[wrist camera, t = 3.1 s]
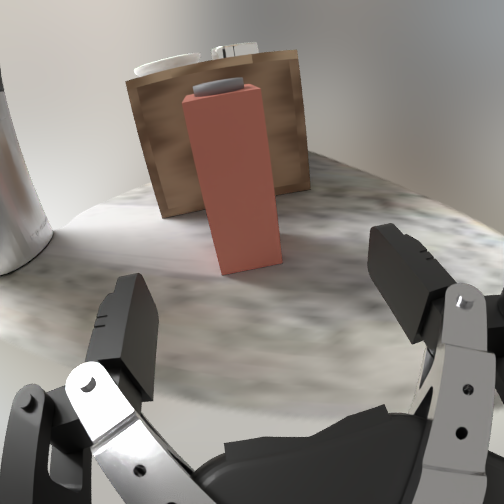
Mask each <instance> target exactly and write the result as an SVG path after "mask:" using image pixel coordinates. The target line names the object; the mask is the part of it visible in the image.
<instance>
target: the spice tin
mask: <svg viewBox="0 0 504 504" xmlns="http://www.w3.org/2000/svg"><path fill="white" fill-rule="evenodd" d="M193 91H194V94H191V95H187V96H186V97H185V98H184V100H183V102H182V107H183V112H184V116H185V121H186V126H187V130H188V135H189V140H190V144H191V149H192V153H193V158H194V162H195V166H196V171H197V175H198V179H199V184H200V188H201V192H202V197H203V201H204V205H205V209H206V213H207V217H208V222H209V226H210V230H211V234H212V238H213V242H214V246H215V250H216V254H217V258H218V262H219V266H220V270H221V273H222V275H226V274H231V273H236V272H241V271H246V270H251V269H256V268H261V267H266V266H271V265H276V264H281V263H283V262H282V253H281V244H280V235H279V226H278V217H277V209H276V200H275V192H274V184H273V176H272V168H271V160H270V152H269V145H268V137H267V130H266V122H265V115H264V108H263V101H262V94H261V88H258V87H256V86H254V85H251V84H245V85H244V82H243V78H242V77H240V78H230V79H223V80H217V81H212V82H207V83H203V84H199V85H196V86H193Z"/></svg>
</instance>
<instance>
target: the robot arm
mask: <svg viewBox="0 0 504 504" xmlns="http://www.w3.org/2000/svg"><path fill="white" fill-rule="evenodd" d="M52 235H53V230H52V228H51V226H50V224H49V221H48V219H47V217H46V215H45V212H44V210H43V208H42V205H41V203H40V200H39V198H38V195H37V193H36V190H35V188H34V185H33V183H32V180H31V177H30V175H29V172H28V169H27V166H26V164H25V161H24V158H23V155H22V152H21V149H20V146H19V143H18V140H17V137H16V133H15V130H14V126H13V123H12V119H11V117H10V112H9V108H8V105H7V101H6V96H5V92H4V88H3V84H2V78H1V69H0V275H3V274H7V273H9V272H11V271H14V270H16V269H17V268H19V267H21V266H22V265H24V264H26V263H27V262H28V261H30V260H31V259H32V258H34V257H35V256H36V255H37V254H38V253H39V252H41V251H42V250H43V248H44V247H45V246H46V245H47V244H48V243H49V241H50V239H51V238H52ZM367 265H368V271H369V275H370V277H371V279H372V281H373V282H374V284H375V285H376V287H377V288H378V290H379V292H380V293H381V295H382V296H383V298H384V299H385V301H386V303H387V304H388V306H389V307H390V309H391V311H392V312H393V314H394V315H395V317H396V319H397V320H398V322H399V324H400V325H401V327H402V329H403V330H404V332H405V334H406V335H407V337H408V339H409V340H410V342H411V344H415V343H418V342H421V341H424V342H425V344H426V347H425V350H424V354H423V360H422V365H421V370H420V375H419V379H418V384H417V388H416V392H415V396H414V399H413V402H412V404H411V407H410V409H409V412H408V414H406V413H388V411H387V409H386V407H385V404H383V405H380V406H378V407H375V408H372V409H369V410H366V411H363V412H360V413H357V414H353V415H350V416H347V417H346V418H344V419H342V420H340V421H339V422H337V423H335V424H333V425H331V426H330V427H328V428H326V429H324V430H322V431H320V432H319V433H317V434H315V435H313V436H310V437H260V438H254V439H249V440H242V441H236V442H229V443H224V446H225V453H223V454H221V455H218V456H216V457H214V458H212V459H211V460H209V461H207V462H206V463H204V464H203V465H202V466H201V467H199V468H198V469H197V470H196V471H194V470H193V469H192V468H191V467H190V466H189V465H188V464H187V463H186V462H185V461H184V460H183V459H182V458H181V457H180V456H179V455H178V454H177V453H176V452H175V451H174V450H173V449H172V447H170V445H169V444H168V443H167V442H166V441H165V440H164V438H162V436H161V435H160V434H159V433H158V431H157V430H156V429H155V428H154V427H153V426H152V424H151V423H150V422H149V421H148V419H147V418H146V417H145V416H144V415H143V413H142V412H141V405H142V402H148V401H153V393H154V375H155V360H156V347H157V335H158V324H159V319H158V312H157V308H156V305H155V303H154V301H153V299H152V297H151V294H150V292H149V290H148V288H147V285H146V283H145V281H144V279H143V277H142V275H141V274H140V273H136V274H131V275H126V276H121V277H119V278H118V280H117V283H116V287H115V290H114V293H110V294H108V295H107V296H106V298H105V299H104V300H103V302H102V303H101V305H100V307H99V310H98V314H97V319H96V321H95V324H94V329H93V332H92V335H91V339H90V343H89V347H88V351H87V355H86V359H85V363H84V364H81V365H79V366H78V367H76V368H75V369H74V370H73V371H72V372H71V374H70V376H69V377H68V379H67V381H66V385H65V386H62V387H59V388H57V389H54V390H51V391H49V392H45V391H44V390H43V389H42V388H41V387H40V386H39V385H37V384H29V385H26V386H24V387H23V388H22V389H20V390H19V391H18V393H17V394H16V396H15V397H14V400H13V403H12V407H11V412H10V416H9V421H8V426H7V431H6V436H5V442H4V448H3V455H2V462H1V469H0V504H91V462H92V460H91V459H92V454H93V456H94V457H95V459H96V461H97V462H98V464H99V465H100V467H101V469H102V470H103V472H104V473H105V475H106V476H107V478H108V479H109V481H110V482H111V484H112V485H113V486H114V488H115V489H116V491H117V492H118V494H119V495H120V496H121V498H122V499H123V501H124V502H125V503H126V504H504V457H501V456H499V455H497V454H495V453H493V452H491V451H489V450H488V447H489V440H490V433H491V426H492V417H493V407H494V394H495V388H496V390H497V392H498V394H499V396H500V398H501V400H502V402H503V404H504V288H503V290H502V293H501V295H489V296H483V294H482V293H481V292H480V291H479V290H478V289H477V288H475V287H473V286H471V285H469V284H465V283H456V282H455V280H454V279H453V278H452V277H451V276H450V275H449V274H448V272H447V271H446V270H445V269H444V268H443V267H442V266H441V264H440V263H439V262H438V261H437V260H436V259H434V258H433V256H432V255H431V253H430V252H429V251H428V252H427V249H426V248H425V247H424V246H423V245H422V244H421V243H420V242H419V241H418V240H416V239H415V238H413V237H411V236H409V235H407V234H405V235H403V233H402V232H401V231H400V230H399V229H398V228H397V227H396V226H395V225H394V224H392V223H389V224H384V225H379V226H374V227H372V228H371V230H370V238H369V251H368V262H367ZM50 444H51V445H52V453H51V464H50V476H49V473H48V455H49V445H50Z"/></svg>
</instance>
